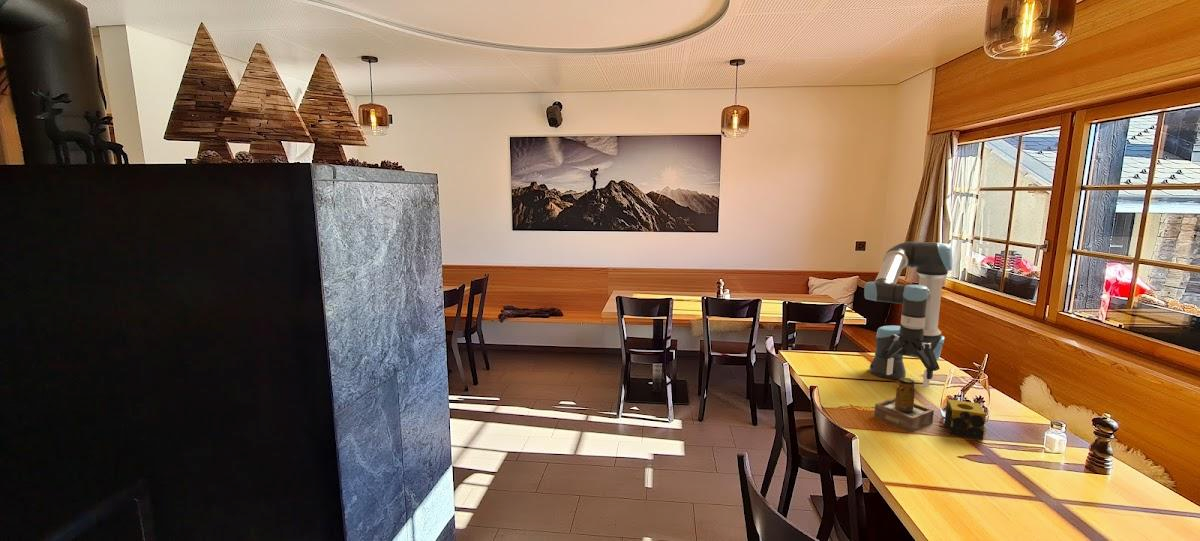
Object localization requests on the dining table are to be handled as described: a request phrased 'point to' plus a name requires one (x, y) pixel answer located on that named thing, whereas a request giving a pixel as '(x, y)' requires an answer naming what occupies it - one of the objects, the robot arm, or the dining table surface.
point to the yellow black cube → (965, 419)
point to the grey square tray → (903, 415)
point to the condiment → (905, 397)
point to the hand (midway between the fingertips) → (907, 380)
